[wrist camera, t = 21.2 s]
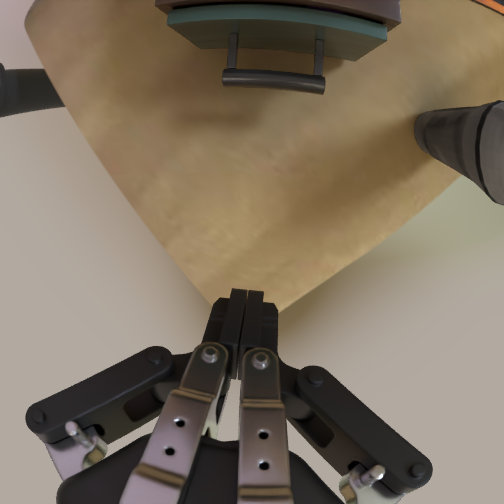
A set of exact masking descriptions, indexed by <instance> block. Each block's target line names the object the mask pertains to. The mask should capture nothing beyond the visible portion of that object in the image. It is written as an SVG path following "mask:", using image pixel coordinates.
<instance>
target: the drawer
mask: <svg viewBox="0 0 504 504" xmlns="http://www.w3.org/2000/svg"><path fill="white" fill-rule="evenodd" d="M194 5H195V6H196V7H189V8H181V9H174V10H169V11H168V18H167V25H168V26H169V27H171V28H172V29H174V30H175V31H177V32H178V33H179V34H181V35H182V36H184V37H185V38H186V39H188V40H189V41H190V42H192V43H193V44H194V45H196V46H197V47H198V48H200V49H208V48H228V60H227V68H228V69H224V70H223V74H222V84H223V86H224V87H252V88H268V89H280V90H290V91H299V92H306V93H314V94H320V95H323V94H324V90H325V77H323V76H322V72H323V57H324V56H330V57H336V58H341V59H346V60H350V61H357V60H358V59H360V58H361V57H363V56H364V55H366V54H367V53H369V52H370V51H372V50H373V49H375V48H376V47H378V46H379V45H381V44H383V43H384V42H386V41H387V26H385V25H381V24H378V23H375V22H371V21H368V20H364V19H362V18H363V16H360V15H356V14H351V13H347V12H345V15H343V14H338V13H333V12H328V11H322V10H315V9H308V8H306V5H300V4H290V3H279V2H258V1H233V2H212V3H200V4H194ZM238 48H259V49H275V50H287V51H296V52H304V53H312V54H314V67H313V75H309V74H302V73H293V72H284V71H272V70H256V69H236V67H237V55H238Z"/></svg>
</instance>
